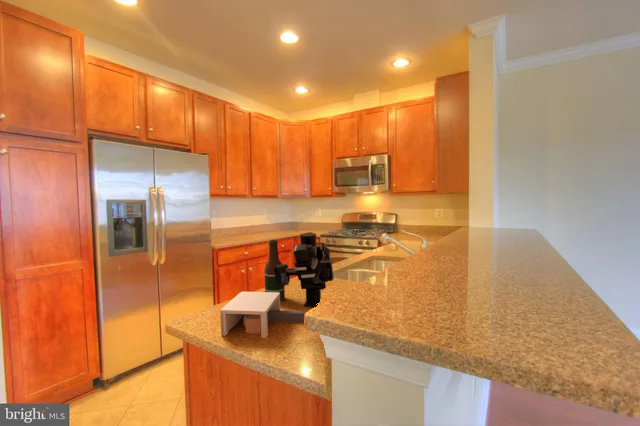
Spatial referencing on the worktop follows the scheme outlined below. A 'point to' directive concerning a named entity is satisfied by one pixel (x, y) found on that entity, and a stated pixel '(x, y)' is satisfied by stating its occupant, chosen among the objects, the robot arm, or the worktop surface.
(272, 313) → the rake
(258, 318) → the cube
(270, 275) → the beer bottle
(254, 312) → the cubby
